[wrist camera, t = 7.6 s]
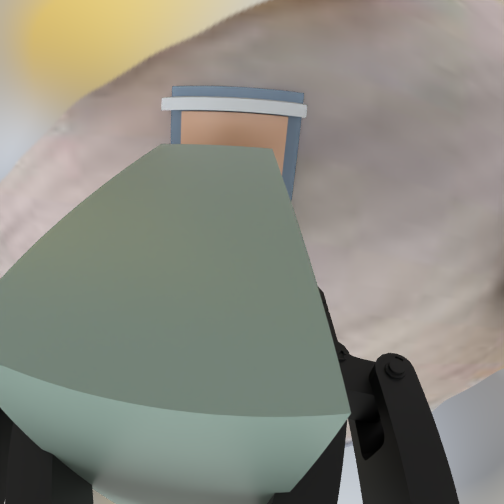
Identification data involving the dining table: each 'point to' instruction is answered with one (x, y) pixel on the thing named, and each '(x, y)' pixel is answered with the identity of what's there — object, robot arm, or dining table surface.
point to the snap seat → (236, 130)
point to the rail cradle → (242, 102)
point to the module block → (175, 334)
